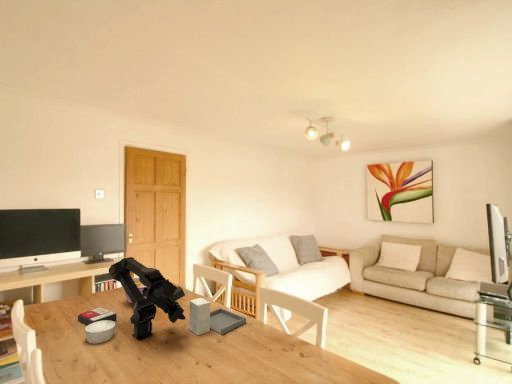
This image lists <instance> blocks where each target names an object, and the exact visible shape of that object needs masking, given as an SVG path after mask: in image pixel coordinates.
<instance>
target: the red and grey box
mask: <svg viewBox="0 0 512 384" xmlns="http://www.w3.org/2000/svg"><path fill="white" fill-rule="evenodd" d="M103 320H110V321H113V322H117V313H115V312H113V311H111V310H109V309H105V308H103V307H97V308H95V309H91V310H87V311H85V312H81V313H79V314H78V315H77V321H78V322H79V323H81V324H83V325H85V326H86V327H87V326H88V325H89V324H91V323H94V322H97V321H103Z"/></svg>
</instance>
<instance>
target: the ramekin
mask: <svg viewBox="0 0 512 384" xmlns="http://www.w3.org/2000/svg"><path fill="white" fill-rule="evenodd" d="M115 327H116V321H114V322H113V321H110V320H103V321H97V322H94V323H91V324H89V325H88V326H87V325H86V327H85V328H84V332H85V336H86V341H87V342H88V343H89V344H96V345H97V344H102V343H105V342H107V341H109V340H110V339H112V337H113V336H114V335H113V334H114V332H115Z"/></svg>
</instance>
